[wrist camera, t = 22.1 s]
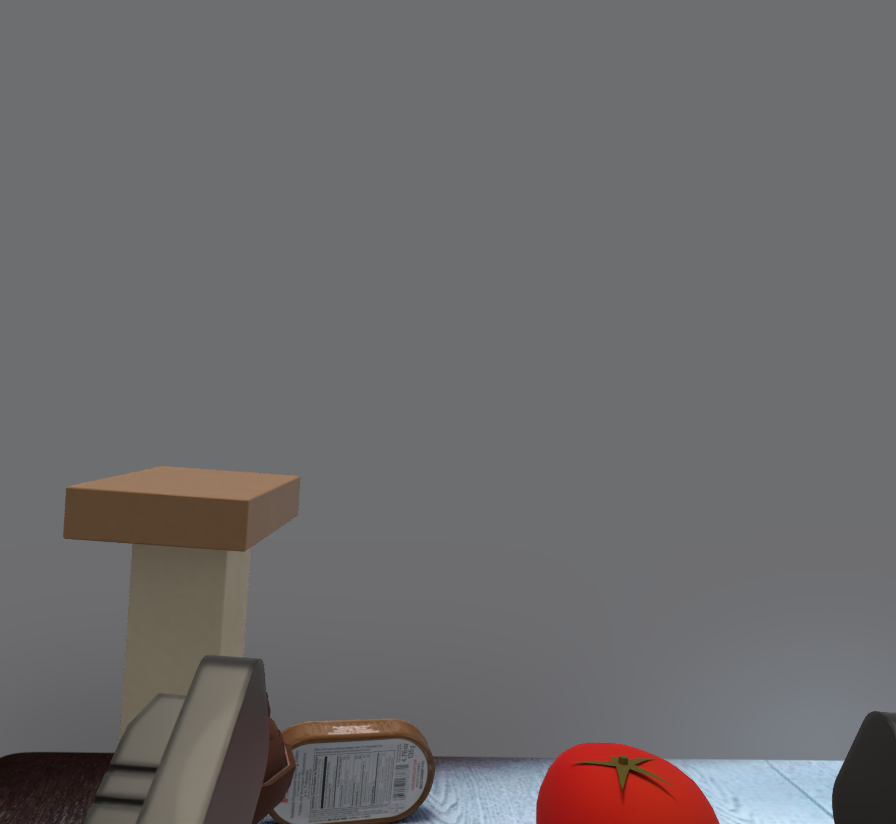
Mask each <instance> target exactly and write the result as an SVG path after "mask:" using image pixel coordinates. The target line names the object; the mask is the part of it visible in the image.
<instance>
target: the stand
mask: <svg viewBox="0 0 896 824" xmlns="http://www.w3.org/2000/svg"><path fill="white" fill-rule="evenodd" d="M299 491H300V476H293V475H278V474H265V473H251V472H237V471H224V470H210V469H196V468H182V467H168V466H167V467H166V466H160V467H156V468H151V469H147V470H142V471H137V472H133V473H128V474H123V475H119V476H114V477H110V478H105V479H100V480H95V481H91V482H86V483H81V484H77V485H72V486H68V487H67V488H66V501H65V517H64V533H63V537H64V538H65V539H77V540H91V541H104V542H119V543H132V544H133V545H132V560H131V576H130V591H129V606H128V622H127V637H126V653H125V668H124V684H123V699H122V714H121V731H120V741H121V738H122V736H123V734H124V732H125V730H126V727H127V725H128V724H129V723H130V722H131V721H132V720H133V719H134V718H135V717H136V716H137V715H138V714H139V713H140V712H141V711H142V710H143V709H144V708H145V707H146V706H147V705H148V704H149V703H150V702H151V701H152V699H153V698H154V697H155V696H156V695H157V694H158V693H162V694H174V695H187V693H188V691H189V688H190V686H191V683H192V681H193V678H194V676H195V673H196V671H197V668H198V666H199V664H200V662H201V660H202V658H203V657H204V656H205V655H219V656H232V657H243V656H244V642H245V627H246V612H247V597H248V582H249V567H250V553H251V547H252V546H254V545H255V544H257V543H258V542H260V541H261V540H262V539H264V538H265V537H267V536H268V535H270V534H271V533H273V532H274V531H276V530H277V529H279V528H280V527H281V526H283V525H284V524H286V523H287V522H289V521H290V520H291V519H293V518H295V517H296V516H297V515H298V506H299Z"/></svg>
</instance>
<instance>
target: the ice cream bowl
mask: <svg viewBox="0 0 896 824" xmlns="http://www.w3.org/2000/svg"><path fill="white" fill-rule="evenodd" d="M266 697H267V709H268V722H269V750H268V758H267V765H266V770H265V775H264V779H263V783H262V787H261V791H260V794H259V798H258V802H257V805H256V809H255V813H254V816H253V820H252V824H257V823H258V822H259V821H261V820H262V819H263V818H264V817H265V816H267V815H268V814H269V813H270V812H271V811H272V810H273V809H274V808H275V807H276V806H277V805H278V804H279V803H281V802H282V800H283V798H284V797H285V795H286V793H287V791H288V789H289V787H290V786H291V782H292V779H293V775H294V771H295V767H296V763H295V759H294V755H293V752H292V748H291V745H289V744H287V743H285V742H284V739H283V735H282V733H281V732H280V730H278V728H277V726H276V724H275V722H274V721H273V720H272V719H271V718H270V707H269V702H268V694H267V692H266Z"/></svg>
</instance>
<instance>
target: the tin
mask: <svg viewBox="0 0 896 824" xmlns="http://www.w3.org/2000/svg"><path fill="white" fill-rule="evenodd" d="M281 733H282V735H283V739H284V742H285V743H287V744H289V745H291V748H292V752H293V755H294V759H295V763H296V767H295V771H294V775H293V779H292V782H291V786H290V787H289V789H288V791H287V793H286V795H285V797H284V798H283V800H282V802H281V803H279V804H278V805H277V806H276V807H275V808H274V809H273V810H272V811H271V812H270V813H269V815H270V816H271V817H272V818H273V819H274V820H276V821H277V822H278V823H280V824H382V823H391V822H395V821H398V820H401V819H403V818H405V817H407V816H409V815H410V814H412V813H413V812H414V811H415V810H417V809H418V808H419V807H420V806H421V804H422V803H423V802H424V801H425V799H426V798H427V796H428V794H429V792H430V790H431V787H432V784H433V780H434V774H435V763H434V758H433V755H432V753H431V751H430V748H429V747H428V743H427V741H426V739H425V737H424V736H423V734H422V733H421V732H420V730H419V729H417V728H416V727H415V726H414V725H412V724H411V723H408V722H406V721H404V720H400V719H367V720H342V721H312V722H303V723H299V724H296V725H293V726H291V727H288V728H287V729H285V730H283V731H282V732H281Z"/></svg>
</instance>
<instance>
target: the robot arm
mask: <svg viewBox="0 0 896 824" xmlns="http://www.w3.org/2000/svg"><path fill="white" fill-rule="evenodd" d="M268 750H269V722H268V709H267V697H266V686H265V673H264V664H263V661H262V660H261V659H256V658H244V657H232V656H219V655H205V656H204V657H203V658H202V660H201V662H200V664H199V666H198V668H197V671H196V673H195V676H194V678H193V681H192V683H191V686H190V688H189V691H188V693H187V695H174V694H162V693H158V694H157V695H156V696H155V697H154V698H153V699H152V701H151V702H150V703H149V704H148V705H147V706H146V707H145V708H144V709H143V710H142V711H141V712H140V713H139V714H138V715H137V716H136V717H135V718H134V719H133V720H132V721H131V722H130V723H129V724H128V725H127V727H126V730H125V732H124V734H123V736H122V738H121V741H120V743H119V745H118V747H117V750H116V752H115V754H114V756H113V758H112V760H111V762H110V768H109V771H108V772H106V773H105V776H104V778H103V780H102V782H101V784H100V786H99V789H98V791H97V793H96V795H95V802H94V804H91V806H90V808H89V811H88V813H87V815H86V817H85V819H84V821H83V824H252V820H253V816H254V813H255V809H256V805H257V802H258V798H259V794H260V791H261V787H262V783H263V779H264V775H265V770H266V765H267V758H268ZM832 808H833V817H834V822H835V824H896V713H888V712H877V711H874V712H871V713H869V714H868V715H867V716H866V717H865V719H864V721H863V723H862V725H861V727H860V729H859V732H858V733H857V736H856V738H855V740H854V742H853V744H852V746H851V748H850V750H849V752H848V755H847V757H846V759H845V761H844V763H843V765H842V767H841V769H840V771H839V774H838V776H837V778H836V780H835V783H834V787H833V794H832Z"/></svg>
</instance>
